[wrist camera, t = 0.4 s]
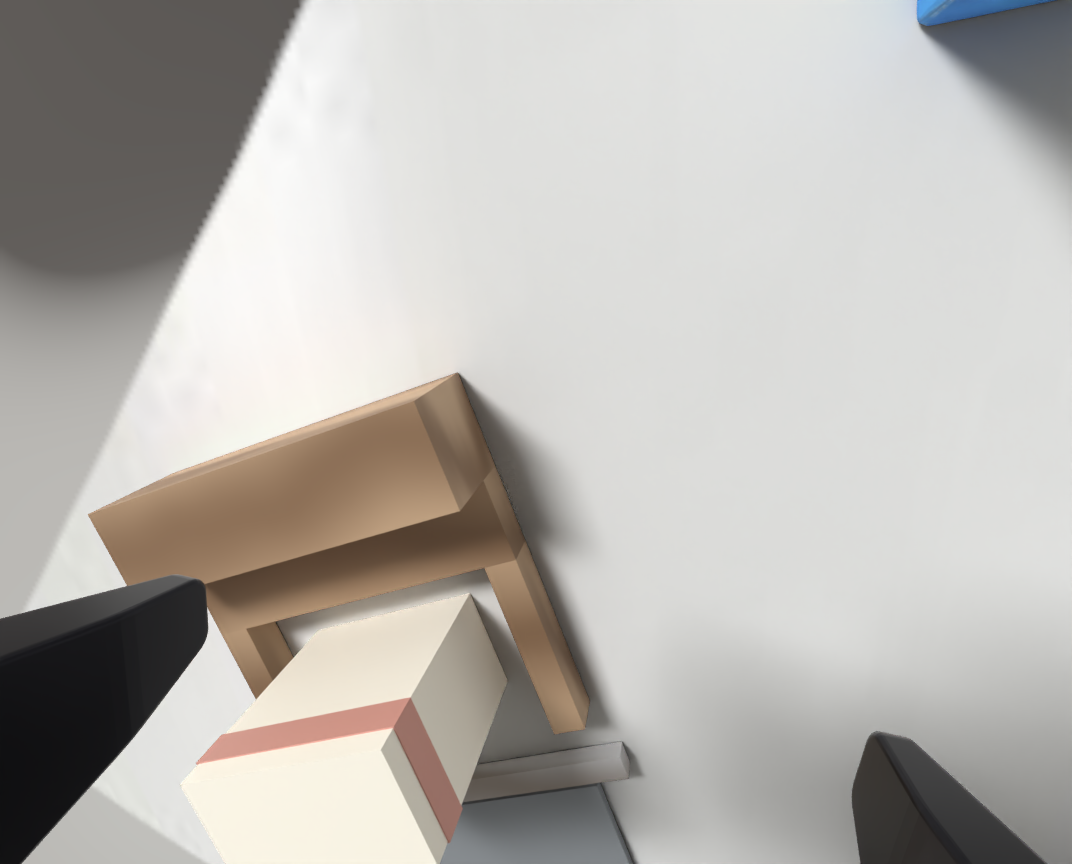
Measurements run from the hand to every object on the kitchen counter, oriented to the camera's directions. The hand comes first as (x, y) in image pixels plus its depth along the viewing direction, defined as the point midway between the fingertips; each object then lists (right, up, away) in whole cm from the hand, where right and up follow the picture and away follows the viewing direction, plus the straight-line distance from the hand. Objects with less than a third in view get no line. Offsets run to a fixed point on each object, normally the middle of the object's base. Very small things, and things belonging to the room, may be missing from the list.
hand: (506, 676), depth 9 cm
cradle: (-5, -4, +17) cm, 18 cm away
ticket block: (-5, -6, +18) cm, 19 cm away
